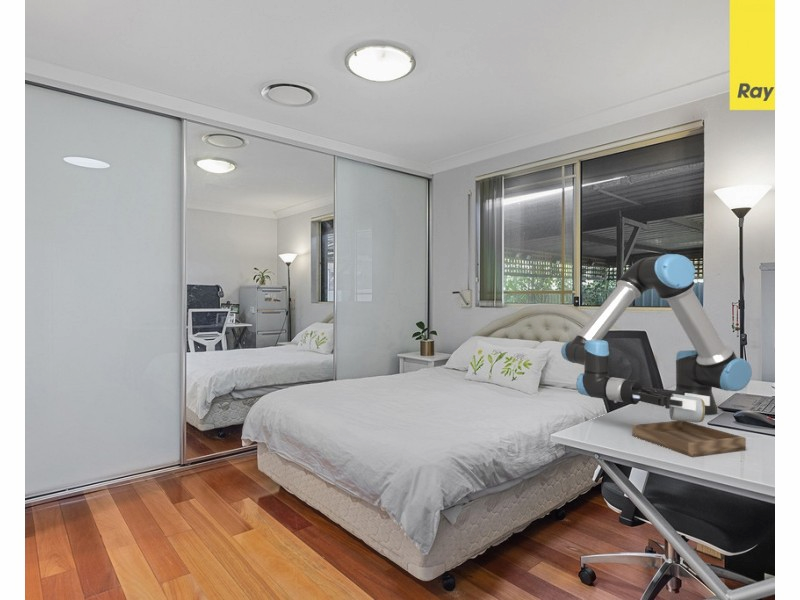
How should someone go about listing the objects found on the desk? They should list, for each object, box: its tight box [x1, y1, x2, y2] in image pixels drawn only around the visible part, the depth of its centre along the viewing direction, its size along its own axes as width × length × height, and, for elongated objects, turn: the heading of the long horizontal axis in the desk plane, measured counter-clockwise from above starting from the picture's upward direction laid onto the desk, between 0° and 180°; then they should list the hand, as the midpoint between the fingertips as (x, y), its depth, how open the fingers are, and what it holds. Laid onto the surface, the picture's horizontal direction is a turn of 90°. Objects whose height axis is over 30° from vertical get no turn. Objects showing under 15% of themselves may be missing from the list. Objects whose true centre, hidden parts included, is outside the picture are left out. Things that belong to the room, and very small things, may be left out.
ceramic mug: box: [669, 394, 706, 423], centre depth 138 cm, size 11×8×8 cm
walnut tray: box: [632, 420, 747, 458], centre depth 136 cm, size 20×20×4 cm
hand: (703, 403), depth 133 cm, fingers closed on ceramic mug, 9 cm apart
